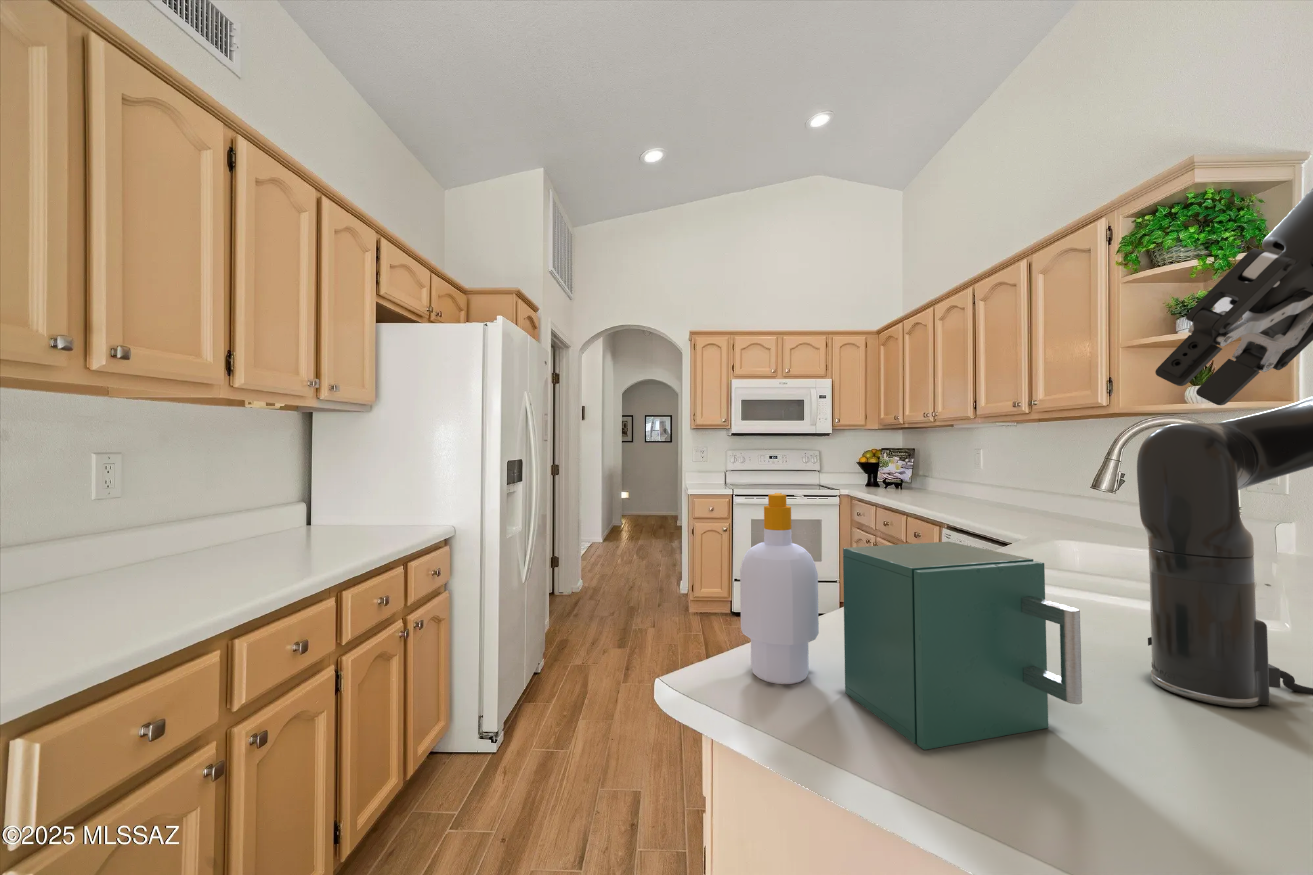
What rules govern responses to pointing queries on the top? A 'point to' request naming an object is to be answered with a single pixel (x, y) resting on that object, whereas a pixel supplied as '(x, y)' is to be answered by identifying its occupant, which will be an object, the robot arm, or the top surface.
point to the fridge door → (988, 652)
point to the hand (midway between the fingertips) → (1188, 391)
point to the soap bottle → (779, 599)
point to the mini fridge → (892, 621)
